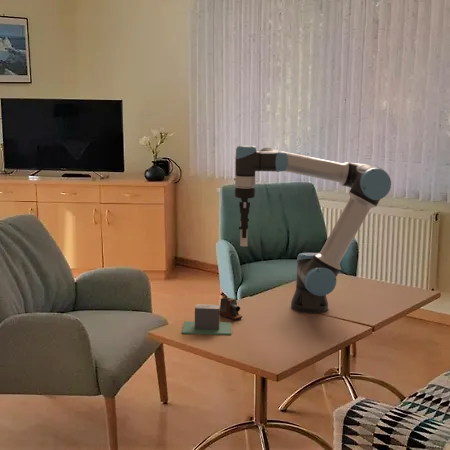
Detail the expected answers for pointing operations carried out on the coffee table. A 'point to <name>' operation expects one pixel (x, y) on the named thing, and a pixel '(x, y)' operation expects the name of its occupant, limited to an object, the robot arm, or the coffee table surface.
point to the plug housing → (207, 316)
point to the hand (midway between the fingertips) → (243, 242)
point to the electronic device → (230, 309)
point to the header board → (223, 329)
